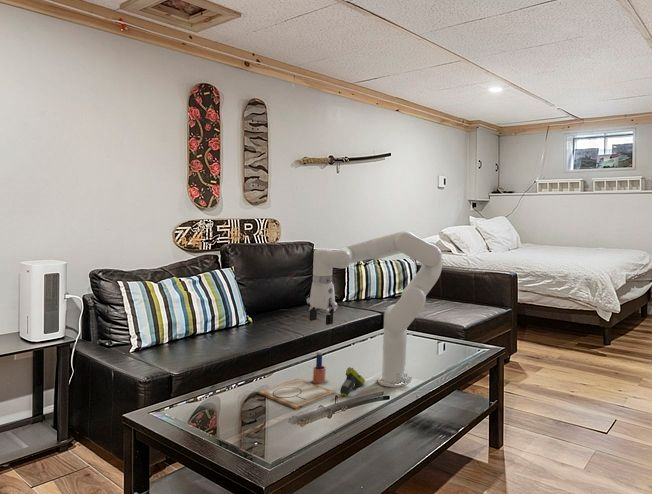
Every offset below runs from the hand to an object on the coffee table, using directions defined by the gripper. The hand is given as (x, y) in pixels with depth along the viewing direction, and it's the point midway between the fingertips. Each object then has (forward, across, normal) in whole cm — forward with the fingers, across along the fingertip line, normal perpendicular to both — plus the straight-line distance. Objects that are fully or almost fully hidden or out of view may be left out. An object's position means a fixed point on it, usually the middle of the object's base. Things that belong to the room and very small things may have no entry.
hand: (321, 322), depth 197 cm
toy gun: (+24, -17, -2) cm, 30 cm away
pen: (+24, 0, 0) cm, 24 cm away
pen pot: (+24, 0, 0) cm, 24 cm away
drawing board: (+24, -3, +13) cm, 28 cm away
